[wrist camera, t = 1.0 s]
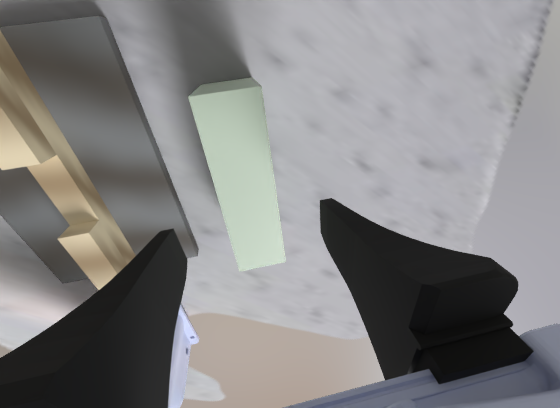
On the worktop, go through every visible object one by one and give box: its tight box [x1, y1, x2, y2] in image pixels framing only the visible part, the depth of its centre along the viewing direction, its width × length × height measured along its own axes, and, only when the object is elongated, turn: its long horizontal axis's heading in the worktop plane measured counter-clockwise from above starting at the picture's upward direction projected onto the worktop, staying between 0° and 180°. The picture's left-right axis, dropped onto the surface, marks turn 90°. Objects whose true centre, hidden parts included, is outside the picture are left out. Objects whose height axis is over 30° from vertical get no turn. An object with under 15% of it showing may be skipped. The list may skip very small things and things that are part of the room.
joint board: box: [0, 16, 199, 290], centre depth 16 cm, size 18×12×4 cm, turn 6°
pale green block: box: [188, 77, 286, 272], centre depth 17 cm, size 12×4×6 cm, turn 7°
